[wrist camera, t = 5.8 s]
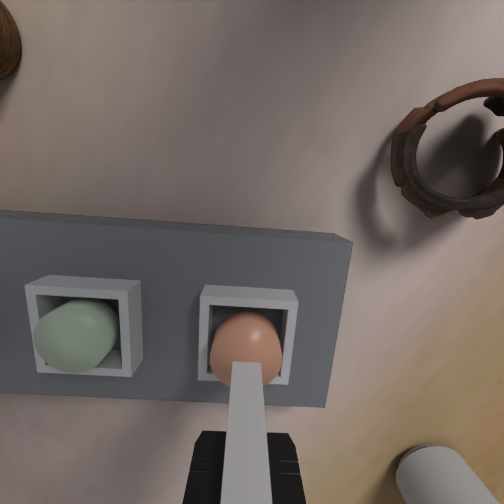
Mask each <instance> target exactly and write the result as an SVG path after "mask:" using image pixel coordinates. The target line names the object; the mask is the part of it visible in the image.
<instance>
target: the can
mask: <svg viewBox="0 0 504 504" xmlns="http://www.w3.org/2000/svg"><path fill="white" fill-rule="evenodd" d="M396 483H397V486H398V488H399V490H400V492H401V494H402V496H403V498H404V500H405V502H406V504H499V502H498V501H497V500H496V499H495V497H494V496H493V495H492V494H491V493H490V491H489V490H488V489H487V488H486V486H485V485H484V484H483V483H482V481H481V480H480V479H479V478H478V476H477V475H476V474H475V473H474V471H473V470H472V469H471V468H470V467H469V465H468V464H467V463H466V462H465V460H464V459H463V458H462V457H461V455H460V454H459V453H458V452H456V451H454V450H453V449H451V448H447V447H442V446H440V445H435V444H423V445H420V446H416V447H414V448H412V449H411V450H409V451H407V452H406V453H405V454H404V455H403V456H402V458H401V460H400V462H399V466H398V469H397V471H396Z"/></svg>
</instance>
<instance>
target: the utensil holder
mask: <svg viewBox="0 0 504 504" xmlns="http://www.w3.org/2000/svg"><path fill="white" fill-rule="evenodd" d="M20 52H21V41H20V35H19V31H18V28H17V25H16V23H15V21H14V19H13V17H12V15H11V14H10V12H9V11H8V9H7V8H6V7H5V5H4V4H3V3H2V2H1V1H0V79H2V78H4V77H6V76H7V75H9V74H10V73H11V72H12V71H13V70H14V68H15V67H16V65H17V63H18V61H19V57H20Z"/></svg>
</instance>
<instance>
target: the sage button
mask: <svg viewBox="0 0 504 504" xmlns="http://www.w3.org/2000/svg"><path fill="white" fill-rule="evenodd" d="M119 338H120V319H119V317H118V315H117V313H116V312H115V311H114V310H113V309H112V308H111V307H110V306H109V305H108V304H107V303H105V302H103V301H101V300H99V299H96V298H86V297H78V298H74V299H72V300H70V301H68V302H66V303H65V304H63V305H61V306H60V307H58V308H56V309H55V310H53V311H51V312H50V313H48V314H46V315H45V316H43V317H42V318H41V319H40V320H39V321H38V323H37V324H36V326H35V328H34V332H33V342H34V346H35V348H36V350H37V352H38V354H39V355H40V357H41V358H42V359H43V360H44V361H45V362H46V363H47V364H49V365H50V366H52V367H54V368H55V369H58V370H60V371H63V372H68V373H82V372H86V371H89V370H91V369H93V368H94V367H96V366H97V365H98V364H99V363H100V362H101V361H102V360H103V358H104V357H105V356H106V355H107V354H108V353H109V352H110V350H111V349H112V348H113V347H114V346H115V345H116V343H117V342H118V340H119Z"/></svg>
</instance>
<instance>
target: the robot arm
mask: <svg viewBox="0 0 504 504" xmlns="http://www.w3.org/2000/svg"><path fill="white" fill-rule="evenodd" d="M183 504H306V500H305V495H304V490H303V484H302V479H301V476H300V469H299V463H298V458H297V453H296V448H295V445H294V443H293V441H292V440H291V438H290V436H289V434H288V433H267V432H266V420H265V407H264V395H263V383H262V370H261V363H255V362H236V361H233V364H232V375H231V387H230V399H229V410H228V422H227V432H223V431H202V433H201V434H200V436H199V438H198V439H197V441H196V442H195V446H194V451H193V456H192V460H191V465H190V471H189V475H188V480H187V484H186V489H185V494H184V499H183Z"/></svg>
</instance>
